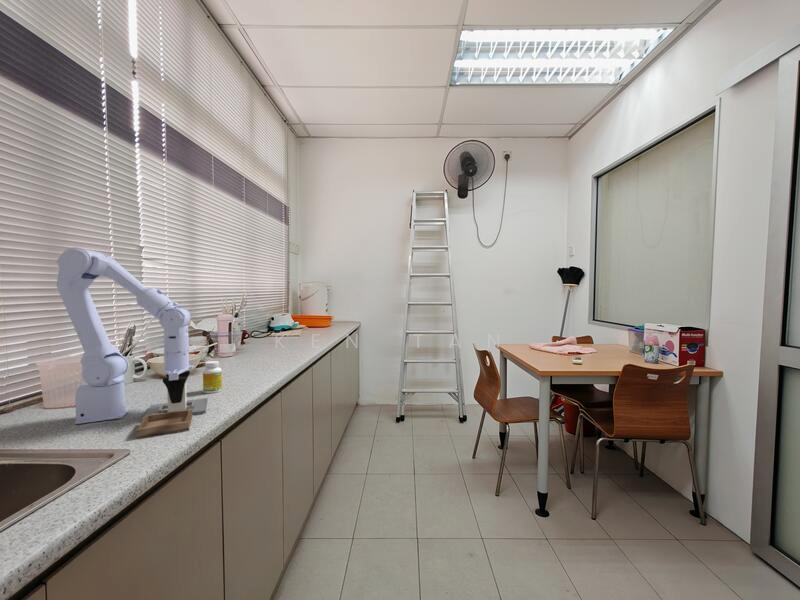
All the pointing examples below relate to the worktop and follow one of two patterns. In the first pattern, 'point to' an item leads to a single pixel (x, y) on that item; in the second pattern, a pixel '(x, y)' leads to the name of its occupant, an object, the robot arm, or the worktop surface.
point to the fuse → (180, 405)
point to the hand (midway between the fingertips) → (177, 400)
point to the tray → (164, 423)
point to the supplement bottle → (212, 377)
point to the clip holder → (196, 405)
